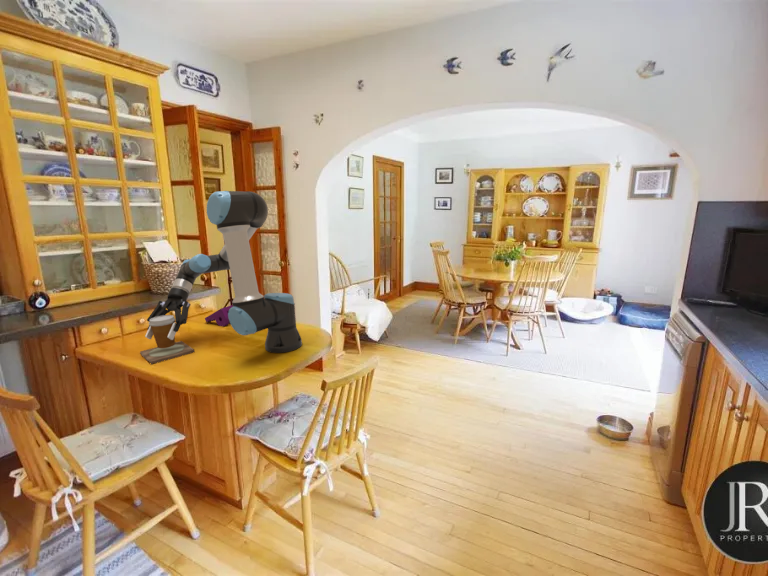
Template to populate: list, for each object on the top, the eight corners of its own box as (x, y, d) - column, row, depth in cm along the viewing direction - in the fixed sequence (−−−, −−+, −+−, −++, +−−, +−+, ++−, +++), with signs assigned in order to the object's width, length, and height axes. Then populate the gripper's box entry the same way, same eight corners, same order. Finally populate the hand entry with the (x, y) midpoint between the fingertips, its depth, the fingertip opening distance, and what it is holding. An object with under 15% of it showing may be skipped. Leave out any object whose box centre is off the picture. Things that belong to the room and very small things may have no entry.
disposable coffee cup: (178, 339, 160) (173, 313, 157) (180, 346, 152) (175, 318, 150) (152, 344, 155) (147, 317, 152) (153, 351, 147) (148, 323, 145)
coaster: (194, 352, 154) (194, 349, 154) (151, 364, 143) (150, 361, 143) (181, 343, 165) (181, 340, 165) (140, 354, 154) (139, 351, 154)
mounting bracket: (208, 334, 195) (228, 323, 186) (201, 320, 195) (221, 308, 186) (222, 329, 203) (242, 318, 195) (216, 315, 203) (235, 303, 194)
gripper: (207, 296, 163) (188, 342, 151) (163, 295, 166) (141, 341, 155) (197, 286, 157) (177, 334, 145) (152, 286, 160) (128, 333, 148)
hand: (158, 338), depth 150 cm, fingers closed on disposable coffee cup, 9 cm apart
